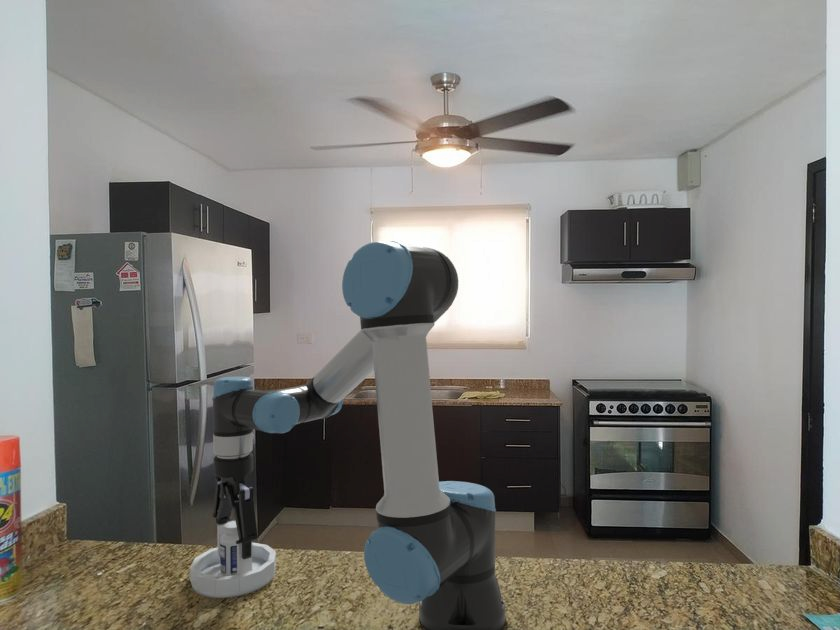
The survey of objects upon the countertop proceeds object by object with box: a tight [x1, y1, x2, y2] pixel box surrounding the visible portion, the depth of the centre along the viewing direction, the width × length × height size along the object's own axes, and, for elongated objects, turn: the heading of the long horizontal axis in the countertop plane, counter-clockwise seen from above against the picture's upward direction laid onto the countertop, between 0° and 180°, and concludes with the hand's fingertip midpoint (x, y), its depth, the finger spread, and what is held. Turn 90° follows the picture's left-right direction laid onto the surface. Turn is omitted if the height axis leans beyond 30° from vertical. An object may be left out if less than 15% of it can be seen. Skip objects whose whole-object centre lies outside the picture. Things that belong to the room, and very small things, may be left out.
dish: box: [189, 541, 277, 599], centre depth 109 cm, size 16×16×4 cm
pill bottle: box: [220, 520, 239, 576], centre depth 109 cm, size 5×5×10 cm
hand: (234, 563), depth 109 cm, fingers open, 10 cm apart
